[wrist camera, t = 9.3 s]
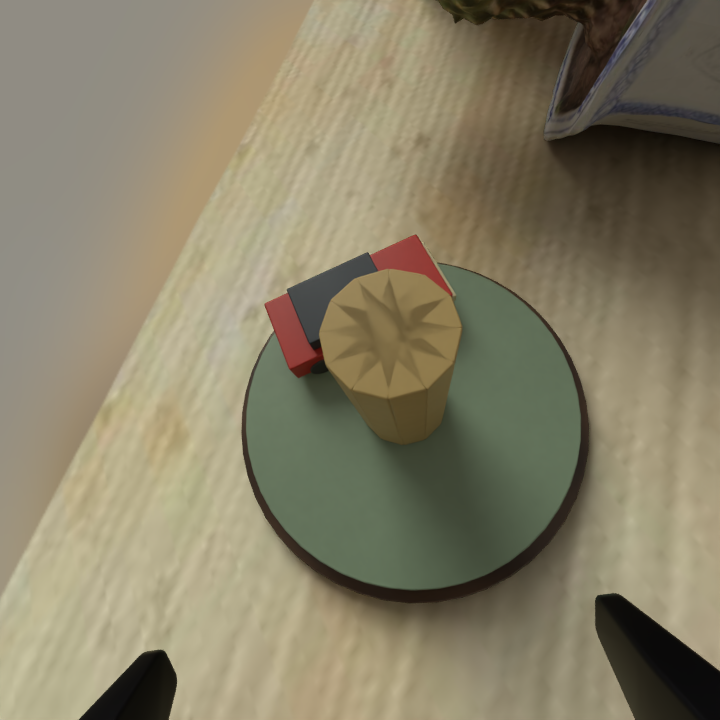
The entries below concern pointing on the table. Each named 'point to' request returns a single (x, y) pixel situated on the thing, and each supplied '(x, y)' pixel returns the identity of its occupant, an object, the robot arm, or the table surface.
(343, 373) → the turntable
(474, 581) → the display stand
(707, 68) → the potted plant
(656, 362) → the table surface
